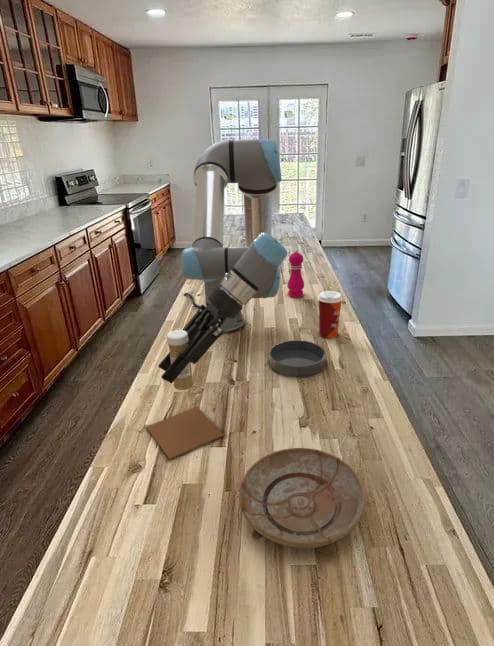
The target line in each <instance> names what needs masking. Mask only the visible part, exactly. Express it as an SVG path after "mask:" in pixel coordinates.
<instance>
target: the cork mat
mask: <svg viewBox="0 0 494 646" xmlns="http://www.w3.org/2000/svg"><path fill="white" fill-rule="evenodd" d="M146 429H147V431H148V432H149V434H150V435H151V437H152V438H153V439H154V441H155V442H156V444H157V445H158V447H160V449H161V451H162V452H163V453H164V454H165V456H166V457H167V459H168V460H169V461H171V460H173V459H175V458H178V457H179V456H182V455H185V454H187V453H189V452H191V451H194V450H196V449H198V448H200V447H202V446H205V445H207V444H209V443H212V442H214V441H216V440H218V439H221V438H223V437H225V434H224V433H223V432H222V431H221V430H220V429H219V428H218V427H217V426H216V425H215V424H214V423H213V422H212V421H211V420H210V419H209V418H208V417H207V416H206V414H205V413H204V412H203V411H201V409H200V408H199V407H198V406H196V407H194V408H191V409H189V410H186V411H184V412H181V413H178V414H176V415H173V416H170V417H168V418H165V419H162V420H160V421H158V422H155V423H152V424H150V425H147V426H146Z"/></svg>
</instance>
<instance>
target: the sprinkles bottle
mask: <svg viewBox="0 0 494 646" xmlns="http://www.w3.org/2000/svg"><path fill="white" fill-rule="evenodd" d="M166 340H167V345H168V350H169V352H170V359H171V364H172V363H173V362H174V361H175V359H176V358H177V357H178V356H179V353H182V354H183V353H184V351H185V350H186V349H187V347H188V340H189V339H188V333H187V332H186V331H184V330H183V329H175V330H171V331H169V332H168V333H167V334H166ZM192 373H193V370H192V363H191V362H190V363H189V364H188V365H187V366H186V367H185V368H184V370H183V371H182V372H181V373H180V374H179V375H178V377H177V378H176V379H175V380H174V381H173V388H175V389H176V390H178V391H185V390H186V391H187V390H189V389H191V388H192V387H193V386H194V381H193V374H192Z"/></svg>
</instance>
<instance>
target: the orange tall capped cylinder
mask: <svg viewBox="0 0 494 646" xmlns="http://www.w3.org/2000/svg"><path fill="white" fill-rule="evenodd" d="M317 300H318V319H319V320H318V321H319V323H318V325H319V327H318V328H319V336H320V337H321V338H323V339H334V338H337V336H338V333H339V332H338V331H339V324H340V314H341V307H342V302H343V296H342V293H340V292H339V291H334V290H324V291H321V292H320V293H319V295H318V296H317Z"/></svg>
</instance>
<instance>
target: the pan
mask: <svg viewBox="0 0 494 646" xmlns="http://www.w3.org/2000/svg"><path fill="white" fill-rule="evenodd" d="M268 359H269V366H270V368H271V369H272V370H273V371H274V372H276V373H278V374H280V375H282V376H286V377H291V378H304V377H310V376H313V375H316V374H318V373H320V372H321V371H323V370H324V368H325V366H326V351H325V350H324V348H323V347H322V346H321V345H319V344H317V343H315V342H312V341H309V340H300V339H293V340H291V339H290V340H285V341H282V342H278V343H276V344H275V345H273V346H272V347H271V348H270V349H269V358H268Z"/></svg>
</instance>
